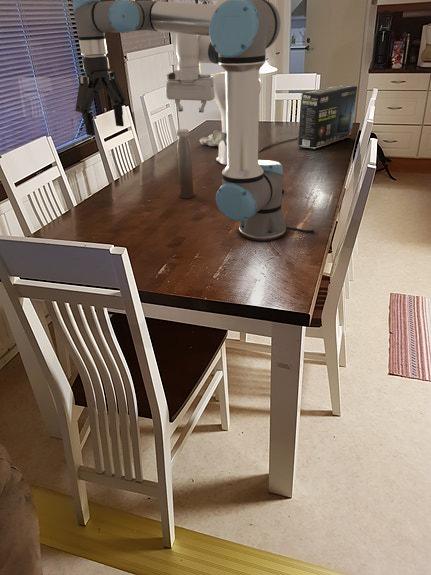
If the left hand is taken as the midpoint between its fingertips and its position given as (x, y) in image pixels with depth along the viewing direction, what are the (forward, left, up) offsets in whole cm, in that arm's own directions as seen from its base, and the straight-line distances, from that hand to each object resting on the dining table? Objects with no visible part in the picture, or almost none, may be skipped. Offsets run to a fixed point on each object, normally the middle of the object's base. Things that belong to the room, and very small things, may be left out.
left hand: (191, 111), depth 186 cm
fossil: (-58, -16, -28) cm, 66 cm away
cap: (+20, +6, -3) cm, 22 cm away
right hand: (+51, -5, +3) cm, 51 cm away
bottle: (+20, +6, -28) cm, 35 cm away
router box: (-76, +40, -28) cm, 91 cm away
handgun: (-1, +33, -28) cm, 43 cm away
